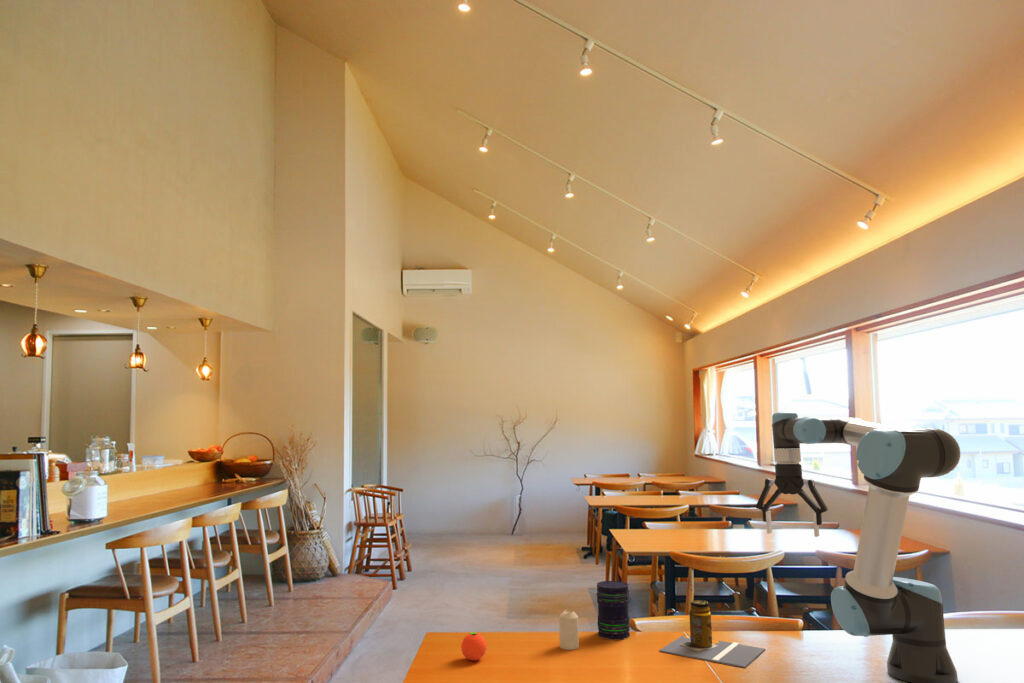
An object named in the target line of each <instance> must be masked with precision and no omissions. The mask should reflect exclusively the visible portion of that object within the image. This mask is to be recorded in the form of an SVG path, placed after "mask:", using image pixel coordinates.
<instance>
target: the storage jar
mask: <svg viewBox="0 0 1024 683" xmlns="http://www.w3.org/2000/svg"><path fill="white" fill-rule="evenodd" d="M596 601H597V607H598V608H597V609H598V610H597V611H598V612H597V613H598V615H597V630H598V631H597V636H598V637H600V638H601V639H606V640H611V641H612V640H614V641H616V640H615V639H621V640H625V639H624V638H626V639H628V638H630V636H631V633H630V632H631V631H630V630H631V629H630V627H631V623H630V616H629V603H630V593H629V584H628V583H627V582H624V581H619V580H605V581H604V580H603V581H599V582H597V583H596ZM598 633H599V634H598ZM627 637H628V638H627Z"/></svg>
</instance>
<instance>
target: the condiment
mask: <svg viewBox="0 0 1024 683" xmlns="http://www.w3.org/2000/svg"><path fill="white" fill-rule="evenodd" d="M689 604H690V609H689V636H690V639H691V642H686V643H681V644H680V645H682V646H685V647H687V648H690V649H694V650H697V651H701V650H705V649H710V648H714V647H717V646H718V645H715V644H712V640H713V635H712V634H713V632H712V630H713V628H712V613H711V611H710V602H708V601H707V600H701V599H697V600H695V599H694V600H691V601H690V603H689ZM699 648H700V649H699Z"/></svg>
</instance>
